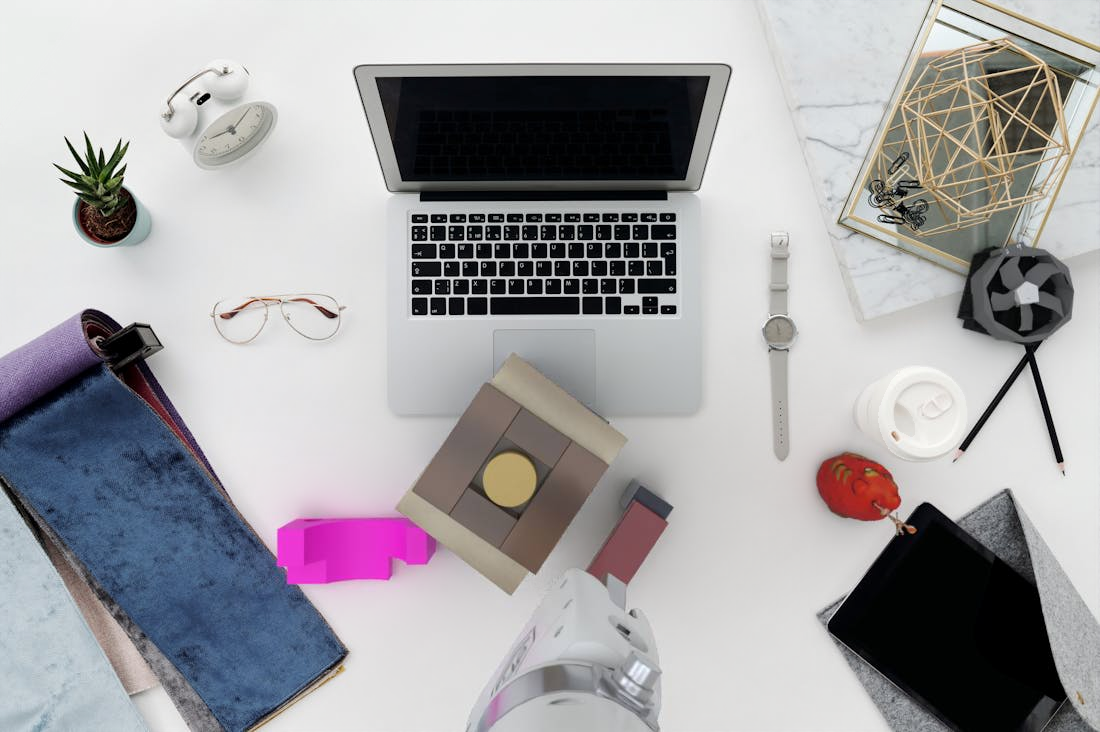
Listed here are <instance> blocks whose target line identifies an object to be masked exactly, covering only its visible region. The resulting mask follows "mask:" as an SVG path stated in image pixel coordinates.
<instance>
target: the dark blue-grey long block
mask: <svg viewBox="0 0 1100 732" xmlns="http://www.w3.org/2000/svg"><path fill="white" fill-rule="evenodd" d="M622 493H623V494H622V495H621V496H620V497H619V499H618V502H619V503H620V505H621V507H622V508H623V509H624V511H625V510H626V509H627V507H628V506H629V504H630V503H631V501H632V500H633V499H635V500H637V501H638V502H640V503H641V504H643V505H644V506H646V507H647V508H649V509H650V510H652V511H653V512H654V513H656V514H657V515H659V516H660V517H662V518H663V519H665V520H666V521H667V519H668V517H669V515H670V514H671V512H672V511H673V510H674V506H673V505H672V504H671V503H669V502H668V501H667V500H666V499H665V498H664V497H663V496H661V494H658V493H657V492H655V491H654V490H653V489H651V488H650V487H648V486H646V485H645V484H643V483H642V482H640V481H639V480H637V479H636V478H635V477H634V478H632V480H630V483H628V486H627V488H626V489H625V490H624V492H622Z"/></svg>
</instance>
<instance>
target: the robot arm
mask: <svg viewBox="0 0 1100 732" xmlns="http://www.w3.org/2000/svg"><path fill="white" fill-rule="evenodd" d="M627 587H628V585H626V584H625V583H623V582H622V581H620V580H619V579H617V578H616V577H614V576H613V575H611V574H610V573H608V572H607V573H606V574H605V575H604V576H603V577H602V579H601V580H600V581H599V580H598V579H597V578H595V577H594V576H592V575H591V574H589V573H587V572H585V570H584V569H581V568H579V567H573V568H569V569H567V570H565V571H563V572H562V573H561V575H559V576H558V578H557V579H556V580H555V582H554V583H553V584H552V585H551V586H550V589H549V590H548V591H547V592H546V594H545V596H544V597H543V598H542V600H541V601H540V603H539V605H538V606H537V608H536V609H535V611H534V612H533V613H532V615H531V617H530V618H529V620H528V621H527V623H526V624H524V625H525V626H524V627H523V628H522V630H521V631H520V633H518V636H517V638H516V639H515V641H514V642H513V643H512V645H511V646H510V648H509V650H508V651H507V653H506V654H505V655H504V657H503V659H502V660H501V662H500V663H499V665H498V666H497V668H496V670H495V671H494V673H493V674H492V676H491V677H490V679H489V680H488V682H487V683H486V685H485V686H484V688H483V690H482V691H481V693H480V694H479V696H478V698H477V700H476V701H475V703H474V704H473V707H472V709H471V711H470V713H469V715H468V718H467V721H466V726H465V730H464V732H662V731H661V728H660V724H659V721H658V719H659V715H660V712H661V708H662V674H663V671H662V669H661V663H660V657H659V652H658V651H659V650H658V645H657V642H656V639H655V636H654V632H653V630H652V627H651V624H650V622H649V620H648V618H647V616H646V615H645V612H643V611H642V609H640V608H639V607H635V608H633V609H630V610H629V612H627V611H626V603H627Z"/></svg>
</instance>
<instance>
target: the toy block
mask: <svg viewBox="0 0 1100 732" xmlns="http://www.w3.org/2000/svg"><path fill="white" fill-rule="evenodd" d="M435 554H436V539H435V538H433V537H432V536H431V535H429V534H428V533H427V532H425V531H424V530H423V529H421V528H420V527H419V526H417V525H416V524H415V523H414V522H412V521H411V520H410V519H408V518H407V517H406V516H404V517H402V516H401V517H341V518H340V517H337V518H336V517H334V518H333V517H332V518H331V517H329V518H325V517H324V518H296V519H294V520H291V521H290V522H288V523H287V524H284V525H282V526H281V527H279V528H276V555H277V556H276V558H277V559H276V567H277V568H286V585H328V584H332V583H338V582H339V583H340V582H346V581H347V582H348V581H360V580H361V581H362V580H378V581H388V582H389V581H390V579H391V578H392V577H393V558H394V559H398V560H400V561H404V562H405V563H406V566H427V565H428V564H429V562H430V561H431V559H432V558H433V556H434V555H435Z"/></svg>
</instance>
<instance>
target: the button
mask: <svg viewBox="0 0 1100 732" xmlns="http://www.w3.org/2000/svg"><path fill="white" fill-rule="evenodd" d="M536 482H537V472H536V467H535V465H534V463H533V461H532V460H531V459H530V458H529V457H528V456H527V455H526V454H524V453H522V452H520V451H516V450H506V451H503V452H500V453H499V454H497V455H496V456H494V457H493V458H492V459H491V461H490V462H489V464H488V465H487V467H486V469H485V471H484V474H483V486H484V489H485V492H486V494H487V495H488V497H489V498H490V499H491V500H492V501H493V502H495V503H496V504H498V505H501V506H504V507H515V506H519V505H521V504H523V503H525V502H526V501H527V500H528V499H529V498H530V497H531V496H532V494H533V493H534V490H535V487H536Z"/></svg>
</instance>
